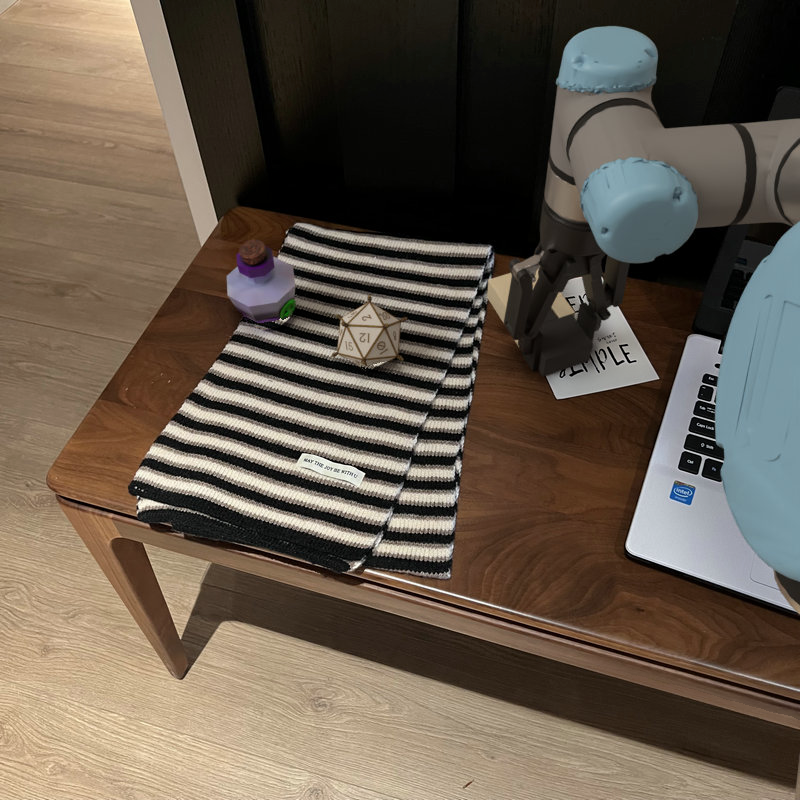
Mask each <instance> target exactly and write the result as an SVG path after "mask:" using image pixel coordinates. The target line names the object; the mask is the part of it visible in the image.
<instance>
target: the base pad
mask: <svg viewBox="0 0 800 800" xmlns="http://www.w3.org/2000/svg"><path fill="white" fill-rule="evenodd" d="M538 270H539V268H538V269H537V271H536V275H535V278H536V281H535V282H533V283H532V284H533V288H534V286H535V284H536V282H537V280H538V277H539V276H538ZM511 278H512V274H511V272H509V273H506V274H502V275H499V276H496V277H493V278H490V279H488V280H487V293H486V294H487V295H486V298H487V299H488V301H489V302H490V304H491V306H492V307H493V309H494V310H495V312H496V314H497V315H498V317H499V319H500V321H502V323H503V324H504V318H505V312H506V307H507V301H508V295H509V289H510V284H511ZM551 311H552V312H553V314H554V315H555V317H556V318H557V319H558V318H561V317H564V316H567V315H570V314H572V315H573V316H574V317H575V316H576V311H575V310H574V309H573V307H572V305H570V303H569V302H568V301H567V299H566V298H565V297H564V295H563V294H562V292H559V293H558V295H557V297H556V299H555V301H554V303H553V305H552V307H551ZM514 342H515V344H516V345H517V346H518V340H514Z"/></svg>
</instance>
